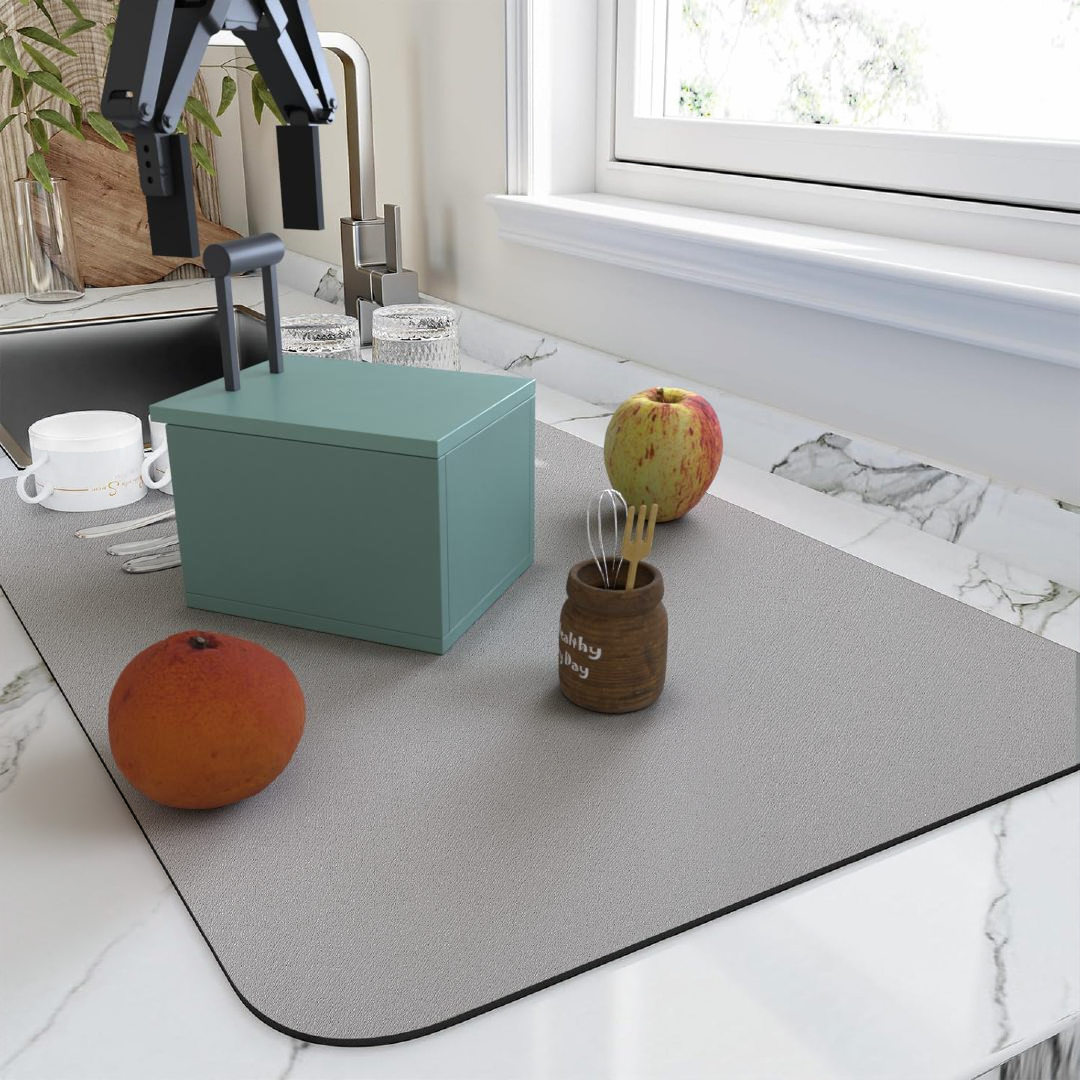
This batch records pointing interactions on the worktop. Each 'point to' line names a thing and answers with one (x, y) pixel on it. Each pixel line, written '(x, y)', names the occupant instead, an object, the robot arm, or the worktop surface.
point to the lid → (331, 383)
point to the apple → (663, 451)
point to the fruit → (204, 719)
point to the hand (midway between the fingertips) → (245, 242)
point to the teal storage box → (355, 530)
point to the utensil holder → (615, 625)
